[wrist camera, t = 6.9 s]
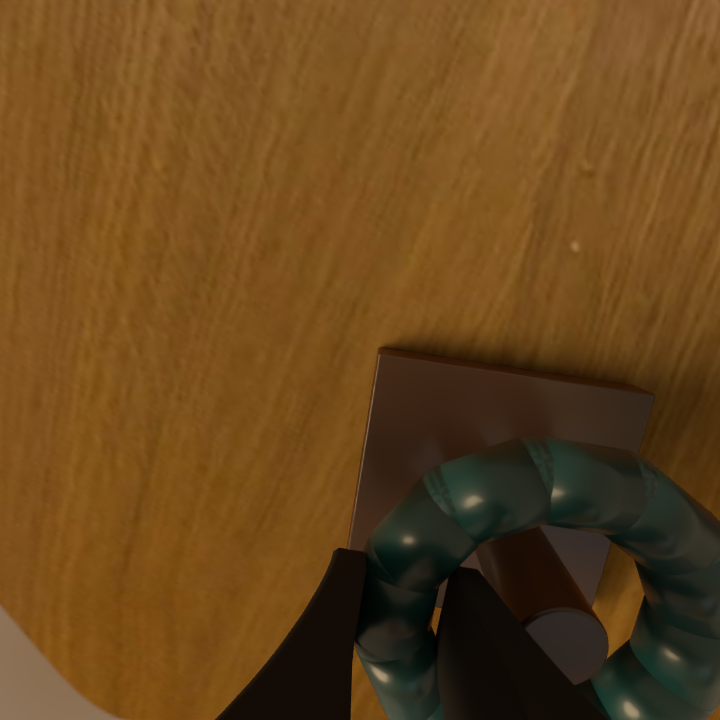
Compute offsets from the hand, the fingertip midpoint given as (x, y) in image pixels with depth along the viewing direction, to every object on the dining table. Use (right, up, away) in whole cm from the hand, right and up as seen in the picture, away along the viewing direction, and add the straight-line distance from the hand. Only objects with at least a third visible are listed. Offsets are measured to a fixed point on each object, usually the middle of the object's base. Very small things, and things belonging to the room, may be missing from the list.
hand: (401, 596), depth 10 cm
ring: (+3, 0, 0) cm, 3 cm away
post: (+3, +1, +6) cm, 7 cm away
